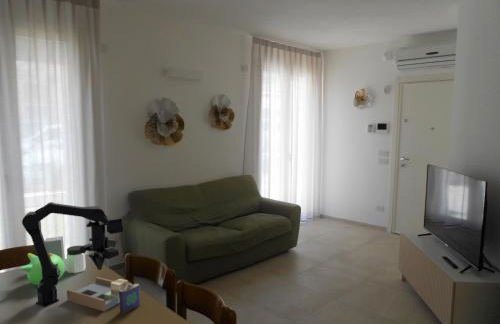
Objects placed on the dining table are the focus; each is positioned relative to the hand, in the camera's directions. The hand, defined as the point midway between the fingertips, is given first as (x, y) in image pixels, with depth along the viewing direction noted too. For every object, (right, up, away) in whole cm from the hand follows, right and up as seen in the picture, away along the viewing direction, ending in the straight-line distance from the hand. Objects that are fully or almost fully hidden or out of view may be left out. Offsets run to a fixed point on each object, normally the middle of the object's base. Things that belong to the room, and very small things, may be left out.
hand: (99, 269), depth 165 cm
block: (+10, -9, -4) cm, 14 cm away
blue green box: (+18, -12, -13) cm, 25 cm away
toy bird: (-31, -10, +12) cm, 34 cm away
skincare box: (-37, -8, +33) cm, 50 cm away
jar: (-24, -9, +28) cm, 38 cm away
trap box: (+2, -11, -4) cm, 12 cm away
